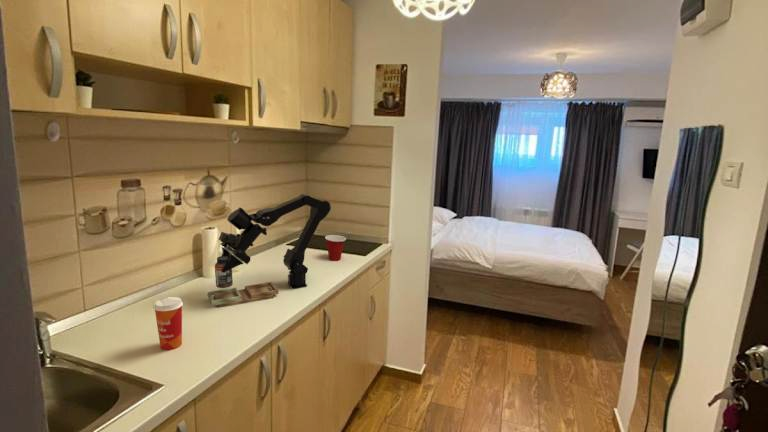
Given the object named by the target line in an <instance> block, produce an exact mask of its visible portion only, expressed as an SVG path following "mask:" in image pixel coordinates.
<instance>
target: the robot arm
mask: <svg viewBox="0 0 768 432" xmlns="http://www.w3.org/2000/svg"><path fill="white" fill-rule="evenodd" d="M305 206H308V207H310V210H309V217H308V219H307V221H306V224H305V225H304V227H303V230H302V231H301V233H300V236H299V237H298V238H297V241H296V242H295V245H294V247H292V248H291V249H290V248H287V249H286V251H285V254H284V255H283V256H282V258H283V260H282V261H283V264H284V266H285V267H286V268H287V270H288V275H287V285H288V286H289V287H290V288H292V289H299V288H304V287H307V286H308V285H307V283H306V279H307V278H306V277H307V275H306V274H307V273H308V271H309V268H308V267H307V266H306V265H305V264H304V261H305V253H306V250H307V249H308V246H309V245H310V242H311V240H312V238H313V236H314V234H315V232H316V231H317V228H318V226H319V224H320V223H321V222H322V221H323V220H324V219H325V218H326V217H327V216H328V214H330V211H331V210H332V206H331V203H330V202H329V201H328V200H324V199H321V198H314V197H312V196H310V195H308V194H306V193H305V194H304V193H302V194H300V195H299V196H298V195H297V196H296V197H294V198H291V199H290V200H288V201H285V202H283V203H281V204H279V205H276V206H272V207H266V208H262V209H259V210H258V211H256V212H254V213H251V214H248V213H247V212H246V211H245V209H243V208H242V207H238V209H236V210H234V211H232V212H231V213H230V214H229V215H228V217H227V221H228V222H229V223H230V225H233V226H234V227H235V228H236V229H238V231H240V230H242V232H241V233H237V234H234V233H233V234H232V233H227V232H224V231H221V233H220V235H219V238H218V241H220V242H221V243H220V245H221V251H222V253H221V255H220V256H228V259H229V260H228V261H227V263H226V264H225V266H224V267H223V269H222V270H221V271H222V272H223V273H224V272H226V271H228V270H230V269H232V270H233V269H234V268H237V267H238V266H241V265H244V264H246V265H248V264H249V263H250V262H251V256H250V255H248V254H247V252H246V251H248V249H249V248H250V247H254V242H255V241H256V240H257V239H258V237H260V235H261V234H262V235H264V236H267V233H268V232H267V228H266V227H269V226H272V225H273V224H275V223H276V222H277V221H278V220H279V219H280V218H282V216H285V215H287V214H289V213H292V212H294V211H295V210H298V209H300V208H302V207H305ZM262 226H264V227H262Z"/></svg>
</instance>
